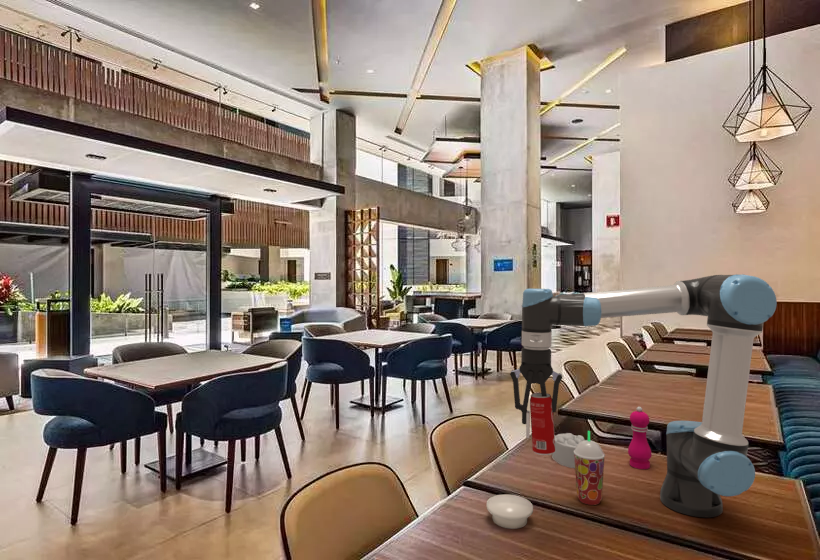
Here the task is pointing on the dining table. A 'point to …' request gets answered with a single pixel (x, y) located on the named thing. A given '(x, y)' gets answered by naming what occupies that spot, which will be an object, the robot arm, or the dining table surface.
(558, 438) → the lumpy-topped squat cylinder
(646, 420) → the pepper mill
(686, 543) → the dining table surface
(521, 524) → the stand
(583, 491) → the smoothie
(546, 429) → the beverage can
